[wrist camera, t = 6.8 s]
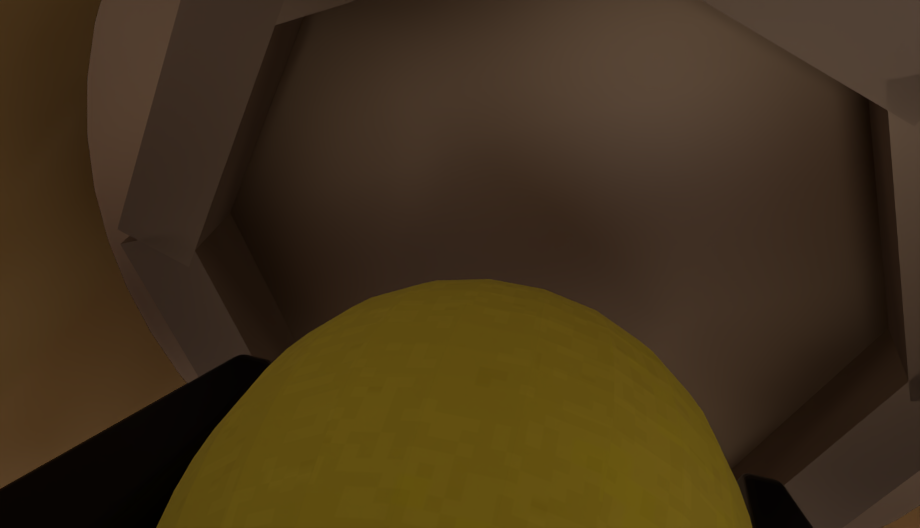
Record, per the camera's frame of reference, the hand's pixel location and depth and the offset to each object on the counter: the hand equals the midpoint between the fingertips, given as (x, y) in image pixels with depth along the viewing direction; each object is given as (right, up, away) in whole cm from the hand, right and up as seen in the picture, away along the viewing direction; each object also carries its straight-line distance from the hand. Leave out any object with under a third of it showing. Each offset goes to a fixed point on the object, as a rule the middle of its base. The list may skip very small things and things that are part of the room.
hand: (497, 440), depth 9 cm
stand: (+1, +4, +5) cm, 7 cm away
